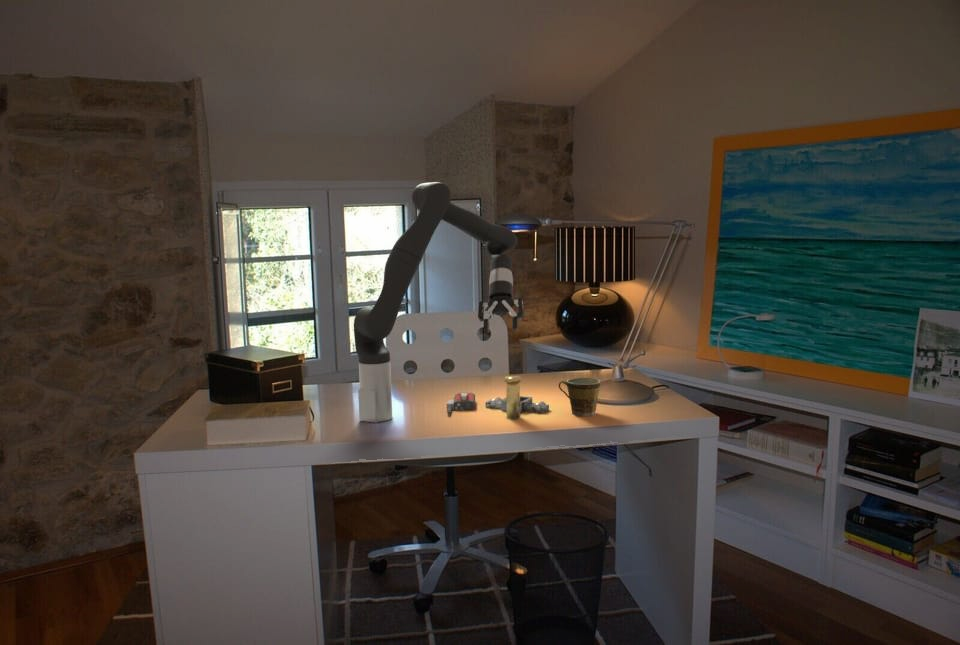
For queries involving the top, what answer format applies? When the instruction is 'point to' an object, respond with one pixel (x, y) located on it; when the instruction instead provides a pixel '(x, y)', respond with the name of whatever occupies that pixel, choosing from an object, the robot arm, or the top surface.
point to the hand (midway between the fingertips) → (500, 330)
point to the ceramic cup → (582, 395)
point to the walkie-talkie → (461, 402)
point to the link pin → (513, 396)
